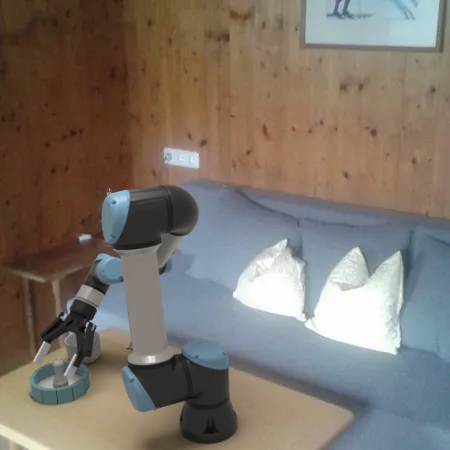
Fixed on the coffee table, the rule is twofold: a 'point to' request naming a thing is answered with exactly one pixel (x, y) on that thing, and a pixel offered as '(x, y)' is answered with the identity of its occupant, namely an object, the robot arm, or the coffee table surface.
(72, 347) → the teacup
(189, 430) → the robot arm
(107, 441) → the coffee table surface
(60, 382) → the rook chess piece
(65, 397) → the dish
